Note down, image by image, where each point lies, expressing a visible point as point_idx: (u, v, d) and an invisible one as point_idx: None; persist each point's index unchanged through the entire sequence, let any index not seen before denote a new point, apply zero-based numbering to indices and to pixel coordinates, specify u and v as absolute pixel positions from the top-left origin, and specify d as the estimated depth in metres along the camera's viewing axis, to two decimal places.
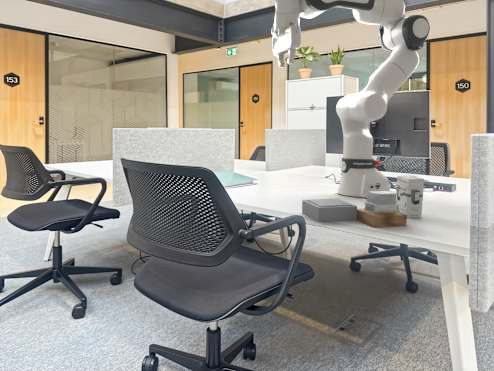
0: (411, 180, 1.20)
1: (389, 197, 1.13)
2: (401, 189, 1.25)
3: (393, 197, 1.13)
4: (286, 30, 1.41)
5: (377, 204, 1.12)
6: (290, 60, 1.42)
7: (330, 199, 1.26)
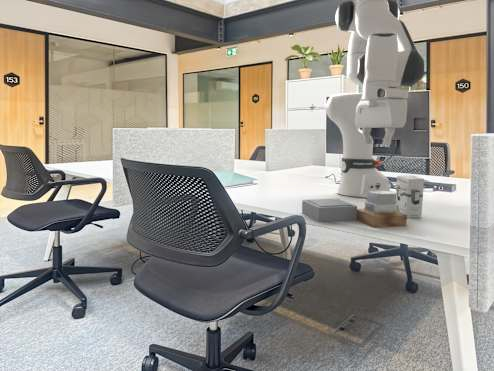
0: (411, 180, 1.20)
1: (389, 197, 1.13)
2: (401, 189, 1.25)
3: (393, 197, 1.13)
4: None
5: (377, 204, 1.12)
6: None
7: (330, 199, 1.26)
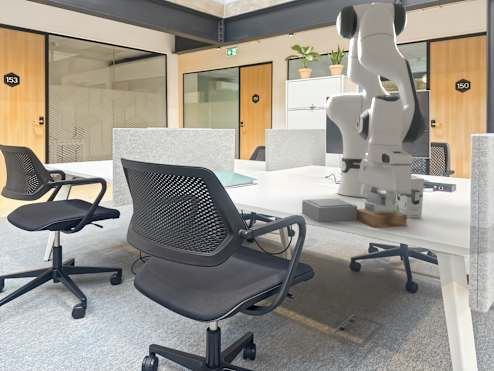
0: (411, 180, 1.20)
1: None
2: None
3: None
4: None
5: (377, 204, 1.12)
6: None
7: (330, 199, 1.26)
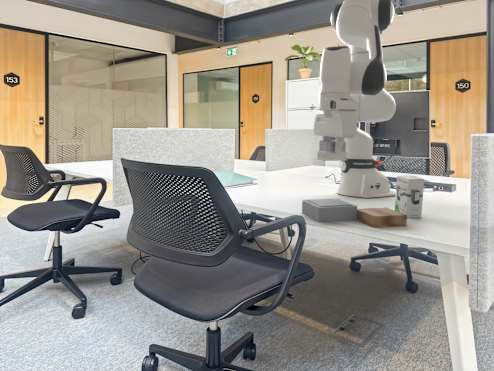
0: (411, 180, 1.20)
1: None
2: (401, 189, 1.25)
3: (343, 145, 1.18)
4: None
5: (327, 151, 1.17)
6: None
7: (330, 199, 1.26)
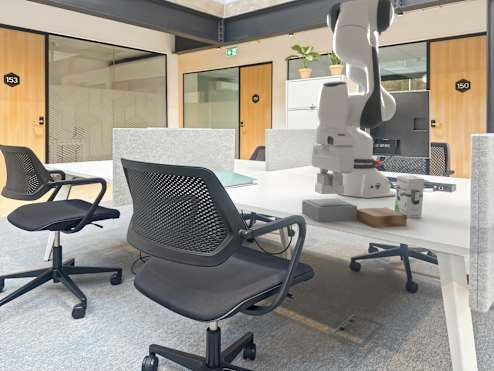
0: (411, 180, 1.20)
1: None
2: (401, 189, 1.25)
3: (340, 178, 1.19)
4: None
5: (325, 185, 1.18)
6: None
7: (330, 199, 1.26)
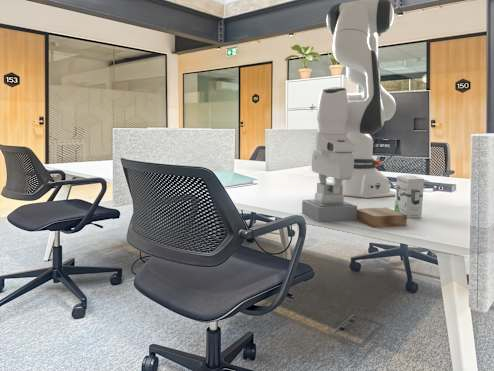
0: (411, 180, 1.20)
1: None
2: (401, 189, 1.25)
3: (340, 188, 1.20)
4: None
5: (325, 195, 1.19)
6: None
7: None
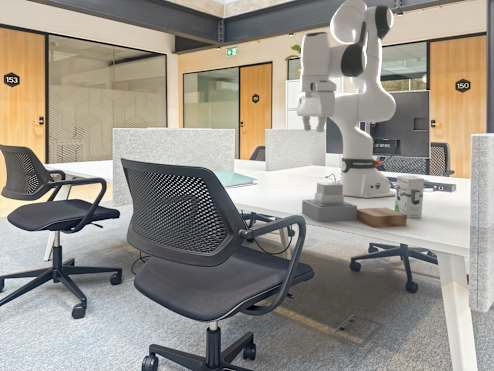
0: (411, 180, 1.20)
1: (336, 188, 1.19)
2: (401, 189, 1.25)
3: (340, 188, 1.20)
4: None
5: (325, 195, 1.19)
6: None
7: None
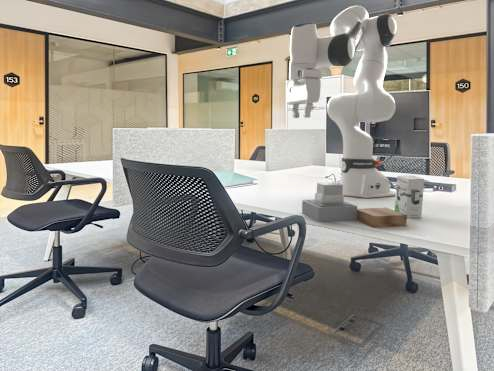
0: (411, 180, 1.20)
1: (336, 188, 1.19)
2: (401, 189, 1.25)
3: (340, 188, 1.20)
4: None
5: (325, 195, 1.19)
6: None
7: None
